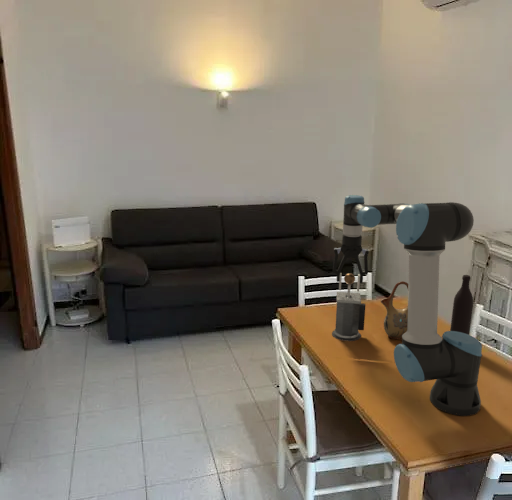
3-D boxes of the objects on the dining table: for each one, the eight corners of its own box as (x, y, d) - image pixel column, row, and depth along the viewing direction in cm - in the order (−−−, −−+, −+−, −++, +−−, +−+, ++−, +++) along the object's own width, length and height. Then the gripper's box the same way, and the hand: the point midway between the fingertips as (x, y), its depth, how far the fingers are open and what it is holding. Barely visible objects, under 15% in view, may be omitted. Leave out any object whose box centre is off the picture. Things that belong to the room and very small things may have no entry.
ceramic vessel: (413, 333, 209) (419, 277, 202) (420, 343, 200) (426, 285, 194) (375, 333, 209) (379, 277, 202) (380, 343, 200) (385, 284, 194)
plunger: (354, 332, 201) (358, 276, 195) (338, 331, 202) (341, 275, 196) (354, 325, 208) (358, 271, 201) (338, 324, 209) (341, 270, 202)
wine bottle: (467, 345, 199) (476, 274, 191) (466, 352, 193) (476, 279, 185) (449, 341, 202) (457, 272, 194) (447, 349, 196) (456, 277, 188)
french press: (363, 341, 200) (366, 301, 196) (334, 338, 202) (336, 300, 197) (362, 331, 210) (365, 293, 205) (334, 328, 211) (336, 291, 207)
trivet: (361, 343, 199) (361, 342, 199) (331, 341, 201) (331, 339, 201) (360, 331, 211) (360, 329, 211) (332, 329, 213) (332, 327, 212)
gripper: (376, 233, 197) (373, 288, 203) (327, 231, 200) (325, 285, 206) (378, 238, 189) (374, 294, 195) (327, 235, 193) (324, 291, 199)
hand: (349, 289), depth 201 cm, fingers open, 7 cm apart
